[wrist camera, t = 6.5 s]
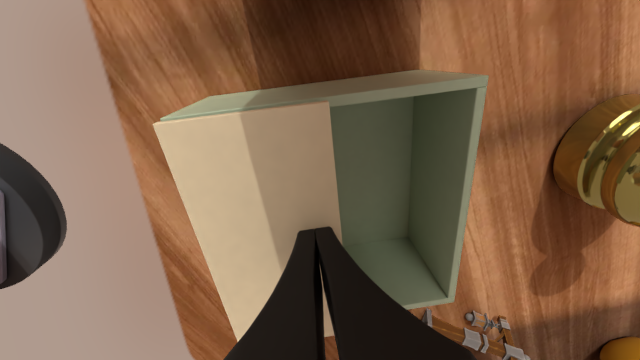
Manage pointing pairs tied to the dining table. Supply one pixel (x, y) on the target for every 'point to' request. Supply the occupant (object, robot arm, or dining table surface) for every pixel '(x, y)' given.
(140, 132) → the dining table surface
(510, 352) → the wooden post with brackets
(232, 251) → the door
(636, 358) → the apple
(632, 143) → the brass weight
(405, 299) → the box
